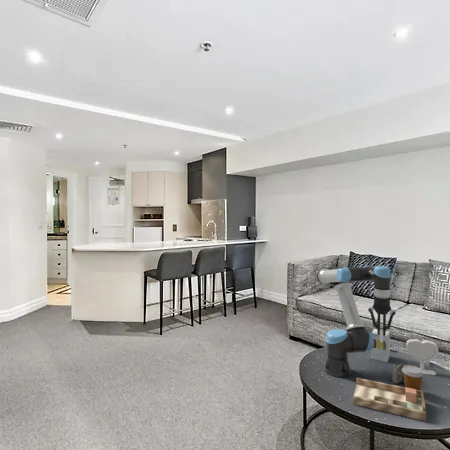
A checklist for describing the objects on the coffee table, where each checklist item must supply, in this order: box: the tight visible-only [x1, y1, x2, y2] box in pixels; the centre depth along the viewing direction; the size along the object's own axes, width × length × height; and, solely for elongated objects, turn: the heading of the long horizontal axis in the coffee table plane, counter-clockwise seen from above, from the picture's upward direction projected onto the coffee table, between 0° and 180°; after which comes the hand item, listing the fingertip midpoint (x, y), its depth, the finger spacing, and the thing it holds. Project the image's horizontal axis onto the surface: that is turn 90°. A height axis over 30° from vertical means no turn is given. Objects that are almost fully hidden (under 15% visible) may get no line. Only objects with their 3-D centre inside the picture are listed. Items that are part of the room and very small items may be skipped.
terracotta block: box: [404, 386, 416, 403], centre depth 153 cm, size 4×4×4 cm
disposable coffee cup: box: [402, 364, 424, 391], centre depth 164 cm, size 10×10×12 cm
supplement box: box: [371, 328, 391, 363], centre depth 203 cm, size 10×9×17 cm
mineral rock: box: [390, 362, 406, 385], centre depth 174 cm, size 13×11×10 cm
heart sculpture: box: [406, 338, 439, 376], centre depth 185 cm, size 16×5×18 cm, turn 66°
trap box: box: [352, 377, 427, 422], centre depth 155 cm, size 30×16×6 cm, turn 62°
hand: (381, 340), depth 165 cm, fingers closed
